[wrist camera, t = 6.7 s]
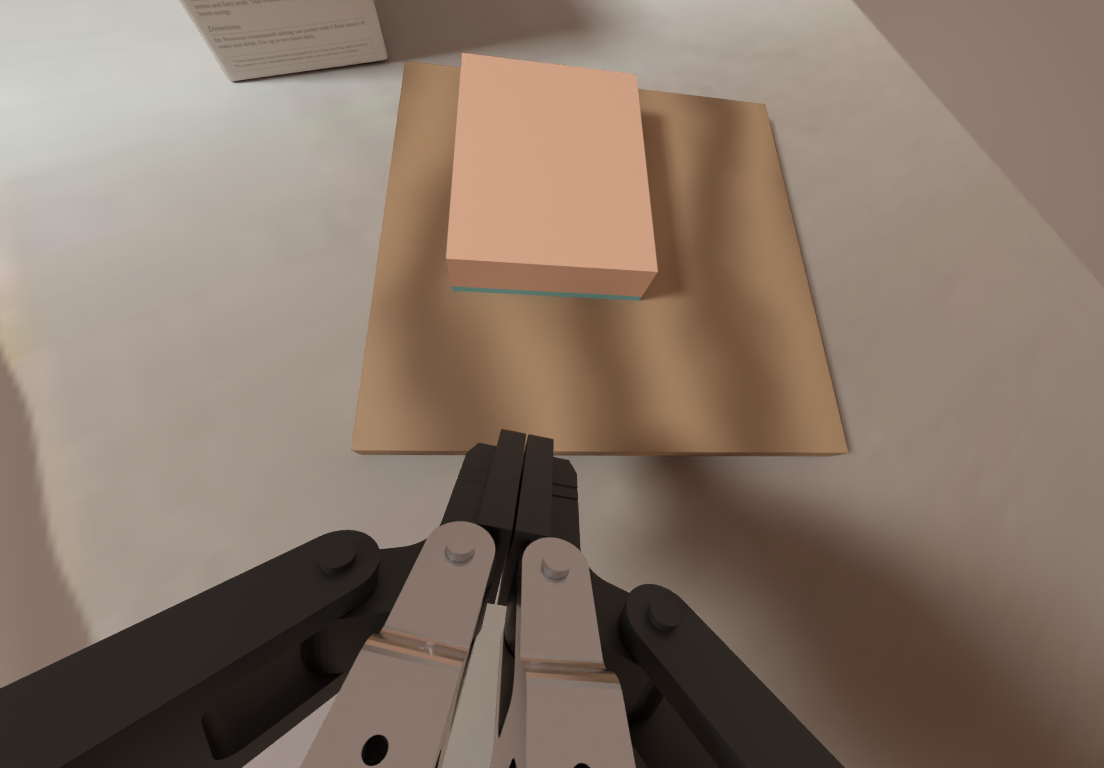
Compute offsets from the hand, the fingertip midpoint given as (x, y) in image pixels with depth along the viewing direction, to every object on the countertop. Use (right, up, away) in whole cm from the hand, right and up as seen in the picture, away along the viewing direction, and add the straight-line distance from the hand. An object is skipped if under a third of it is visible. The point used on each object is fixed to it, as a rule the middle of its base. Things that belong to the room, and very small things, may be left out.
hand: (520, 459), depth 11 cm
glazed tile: (+1, +7, +7) cm, 10 cm away
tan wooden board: (+4, +9, +11) cm, 14 cm away
